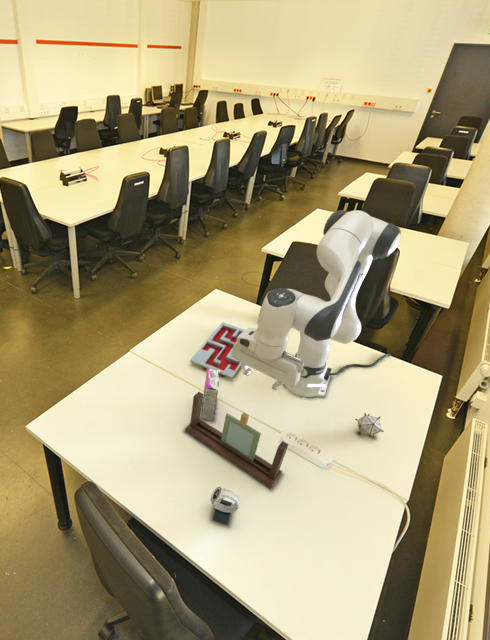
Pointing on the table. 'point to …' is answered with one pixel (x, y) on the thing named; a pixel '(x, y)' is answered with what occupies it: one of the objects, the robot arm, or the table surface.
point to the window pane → (240, 436)
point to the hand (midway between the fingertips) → (260, 381)
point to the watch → (223, 504)
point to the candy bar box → (210, 394)
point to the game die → (369, 425)
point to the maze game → (220, 351)
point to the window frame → (212, 439)
